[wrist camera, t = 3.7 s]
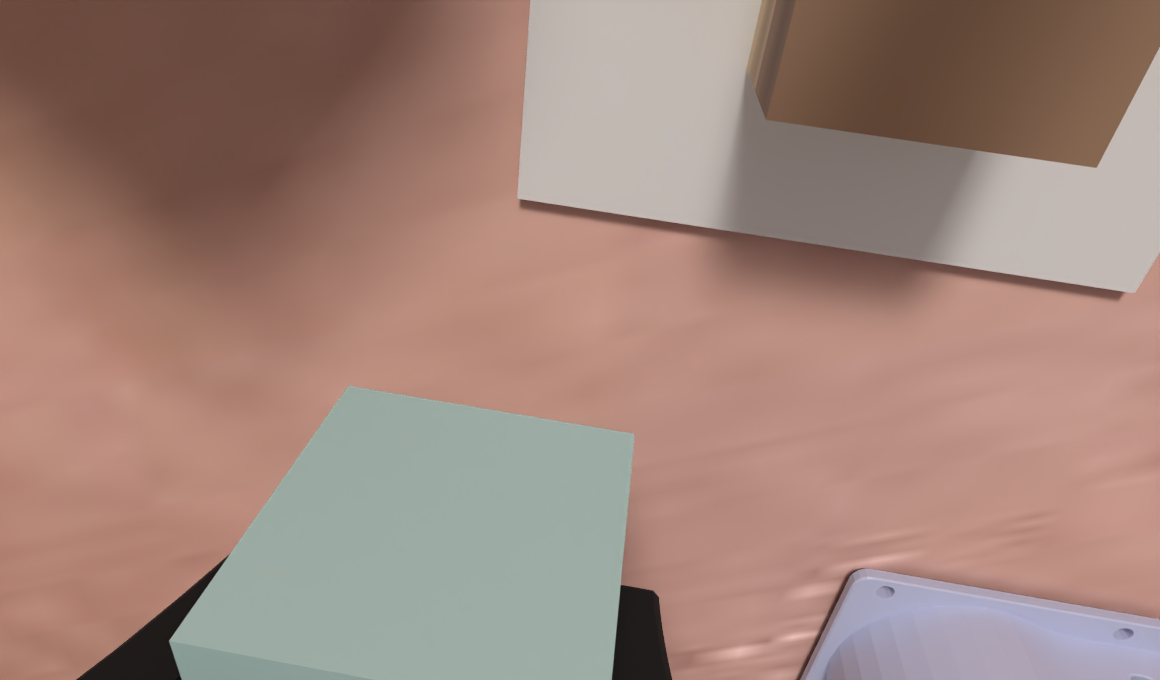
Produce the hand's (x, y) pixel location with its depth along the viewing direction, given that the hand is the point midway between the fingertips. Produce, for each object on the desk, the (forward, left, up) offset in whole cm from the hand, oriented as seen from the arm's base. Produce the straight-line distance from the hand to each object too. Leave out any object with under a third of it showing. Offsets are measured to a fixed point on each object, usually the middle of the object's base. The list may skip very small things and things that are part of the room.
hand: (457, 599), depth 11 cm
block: (0, 0, -2) cm, 2 cm away
